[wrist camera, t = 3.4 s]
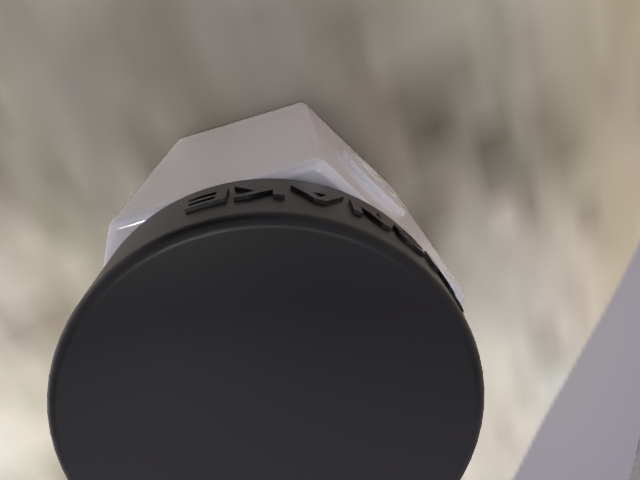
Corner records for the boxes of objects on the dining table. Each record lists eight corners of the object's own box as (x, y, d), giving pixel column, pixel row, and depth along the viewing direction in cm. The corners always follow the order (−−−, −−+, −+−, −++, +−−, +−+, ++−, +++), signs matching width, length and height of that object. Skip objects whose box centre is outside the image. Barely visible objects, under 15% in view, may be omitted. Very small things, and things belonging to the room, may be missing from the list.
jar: (437, 222, 23) (591, 418, 12) (288, 365, 25) (297, 656, 13) (258, 49, 20) (235, 85, 9) (106, 220, 22) (-73, 429, 11)
